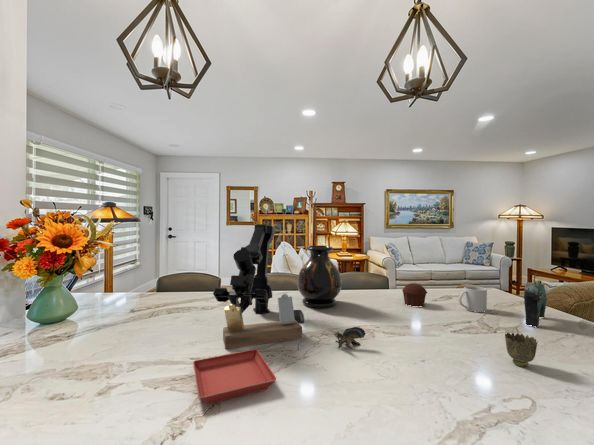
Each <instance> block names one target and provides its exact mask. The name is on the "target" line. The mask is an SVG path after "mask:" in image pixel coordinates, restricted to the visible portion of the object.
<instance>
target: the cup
mask: <svg viewBox="0 0 594 445" xmlns="http://www.w3.org/2000/svg"><path fill="white" fill-rule="evenodd" d="M504 338H505V339H504V340H505V347H506V350H507V353H508V355H509V356H510V358H512V363H513V364H514V365H515V366H518V367H521V368H527V367H528V366H529V365H530V364H529V363H530V362H532V361H534V359H535V356H536V352H537V348H538V343H539V342H538V341H537V339H536V338H534V336H530V337H529V335H528V334H527V335H525V336H524V334H523V333H519V332H516V334H515V333H514V332H506V333H504Z"/></svg>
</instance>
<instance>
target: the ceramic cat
mask: <svg viewBox="0 0 594 445" xmlns="http://www.w3.org/2000/svg"><path fill="white" fill-rule="evenodd" d="M538 276H539V275H538V273H535V274H534V275H533V282H531V281H530V282H526V283H525V286H524V290H523V300H524V301H523V302H524V303H523V304H524V312H525V325H526V324H527V325H532V326H536V327H537V326H538V325H540V319H539V317H544V318H545V315H546V314H545V312H546V307H547V301H548V300H547V293H546V292H547V291H546V288H545V285H544V284H542V280H540V279H538V280H537V281H536V277H538ZM538 327H539V326H538ZM538 327H537V328H538Z"/></svg>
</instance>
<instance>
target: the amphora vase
mask: <svg viewBox="0 0 594 445" xmlns="http://www.w3.org/2000/svg"><path fill="white" fill-rule="evenodd" d="M306 250H308V251H309V252H310V257H309V259H308V260H307V261H306V262H305V263H304V264H303V265H302V267H301V268H300V270H299V273H298V276H297V281H296V282H297V283H296V284H297V289H298V291H299V293H300V294H301V296H302V297H303V298H302V299H301V300H302V301H301V302H302V304H303V305H304V306H306V307H309V308H313V309H327V308H328V309H329V308H332V307H334V306H335V305H336V304H337V300H336V299H335V298H337V296H338V295H339V294H340V293H341V290H342V283H343V282H342V278H341V272H340V270H339V268H338V267H337V266H336V265H335V263H334V262H333V261H332V260H331V259H330V257H329V254H330V252H331V251H333V250H334V247H333V246H329V245H310V246H309V245H307V247H306Z"/></svg>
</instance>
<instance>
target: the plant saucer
mask: <svg viewBox="0 0 594 445" xmlns="http://www.w3.org/2000/svg"><path fill="white" fill-rule="evenodd" d="M192 365H193V366H192V367H193V371H194V378H195V383H196V384H195V385H196V391H197V398H199V400H200V401H202V402H203V403H205V404H209V405H210V404H212V403H217V402H221V401H225V400H229V399H232V398H233V399H234V398H237V397H240V396H245V395H249V394H253V393H258V392H261V391H265V390H268V389H269V388H270V387H272V385H273V384H274V383H275V382H276V381H277V376H276V375H275V374H274V372H273V371H272V369H271V368H270V366H269V365H268V363H267V362H266V360H265V358H264V357H263V356H262V354H261V353H260V351H259V349H257V348H255V349H254V348H253V349H250V350H249V349H248V350H244V351H239V352H232V353H228V354H222V355H217V356H212V357H207V358H202V359H198V360H197V359H196V360H193V361H192Z"/></svg>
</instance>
